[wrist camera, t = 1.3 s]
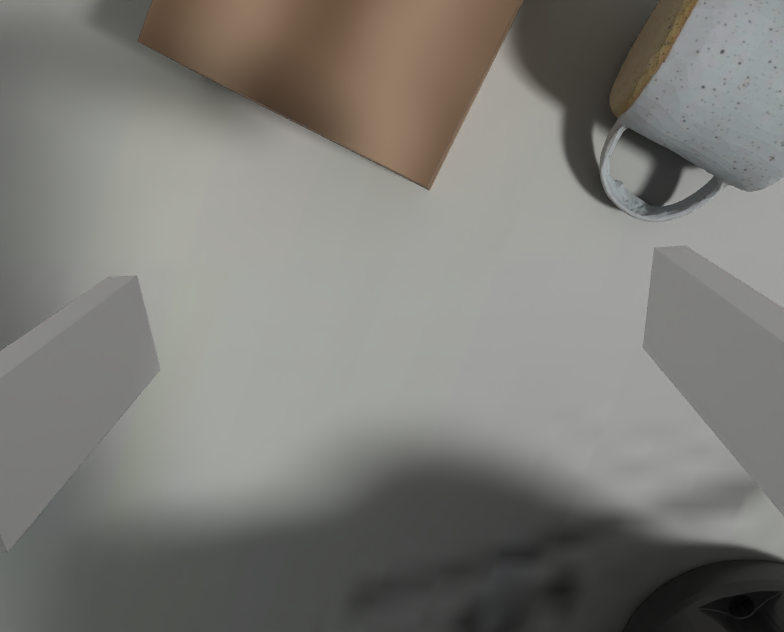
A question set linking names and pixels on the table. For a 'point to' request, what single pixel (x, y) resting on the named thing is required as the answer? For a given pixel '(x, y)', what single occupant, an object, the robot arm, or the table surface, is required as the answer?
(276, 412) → the table surface
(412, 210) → the table surface
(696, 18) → the ceramic mug
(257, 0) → the walnut block
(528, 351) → the table surface
